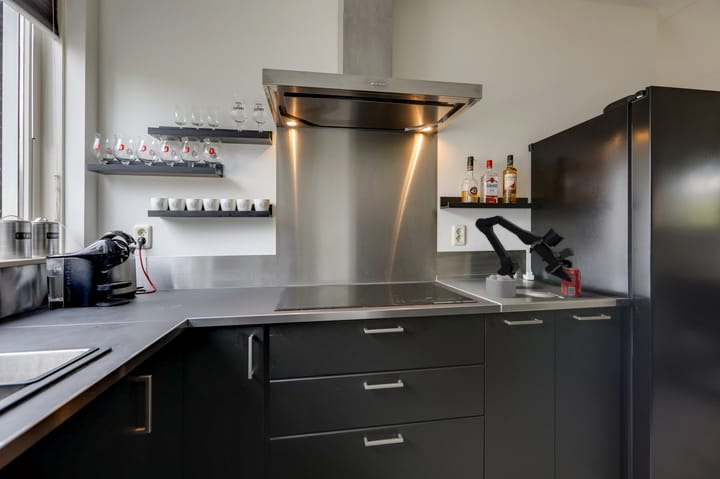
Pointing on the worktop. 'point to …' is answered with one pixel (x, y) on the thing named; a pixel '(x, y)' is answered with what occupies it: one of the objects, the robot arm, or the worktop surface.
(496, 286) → the grey bumpy block
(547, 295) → the coaster
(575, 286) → the soda can
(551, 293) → the tear line
